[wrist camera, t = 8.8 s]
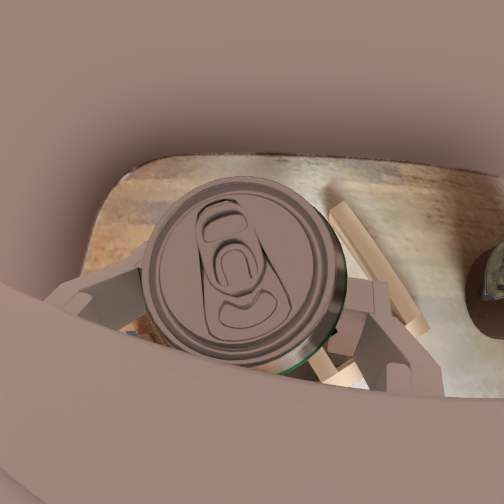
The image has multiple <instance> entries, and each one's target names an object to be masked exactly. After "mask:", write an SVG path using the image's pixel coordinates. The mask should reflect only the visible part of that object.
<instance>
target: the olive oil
mask: <svg viewBox="0 0 504 504" xmlns="http://www.w3.org/2000/svg"><path fill="white" fill-rule="evenodd" d="M466 302H467V307H468V311H469V314H470V317H471V319H472V321H473V323H474V324H475V326H476V327H477V328H478V329H479V330H480V331H481V332H482V333H483V334H485V335H486V336H488V337H490V338H494V339H503V340H504V241H502V242H501V243H499V244H498V245H496V246H495V247H493V248H491V249H490V250H488V251H486V252H485V253H483V254H482V255H481V256H480V257H479V258H478V259H477V260H476V261H475V263H474V264H473V266H472V268H471V270H470V272H469V275H468V279H467V284H466Z"/></svg>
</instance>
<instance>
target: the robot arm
mask: <svg viewBox="0 0 504 504" xmlns="http://www.w3.org/2000/svg"><path fill="white" fill-rule="evenodd" d="M147 243H148V241H144V242H143V243H142V244H141V245H140V246H139V247H138V248H137V249H136V250H135V251H134V252H133V253H132V254H131V255H130V256H129V257H128V258H127V259H126V260H125V261H124V262H123V263H122V264H120V263H117V264H114V265H111V266H108V267H106V268H103V269H100V270H97V271H95V272H92V273H89V274H86V275H84V276H81V277H78V278H76V279H73V280H70V281H68V282H65V283H62V284H60V285H59V286H58V287H57V288H56V289H55V290H54V291H53V292H52V293H51V294H50V295H49V296H48V297H47V298H46V299H45V300H44V301H43V302H42V301H40V300H37V299H35V298H33V297H30V296H28V295H26V294H24V293H22V292H20V291H17V290H15V289H13V288H11V287H9V286H7V285H5V284H3V283H0V504H504V398H456V397H445V396H444V388H443V381H442V374H441V368H440V366H439V365H438V364H437V363H436V361H435V360H434V359H433V358H432V357H431V356H430V354H429V353H428V352H427V351H426V350H425V349H424V348H423V346H422V345H421V344H420V343H419V342H418V341H417V340H416V339H415V337H414V336H413V335H412V334H411V333H410V332H409V331H408V330H407V329H406V327H405V326H404V325H403V324H402V323H401V322H400V321H399V320H398V319H397V317H392V311H391V303H390V294H389V286H388V283H387V282H380V281H373V280H372V281H370V280H364V279H357V278H351V277H347V294H346V299H345V304H344V308H343V311H342V313H341V316H340V319H339V321H338V324H337V325H336V327H335V329H334V331H333V332H332V334H331V336H330V337H329V339H328V347H327V352H330V353H335V354H341V355H346V356H351V357H353V359H354V361H355V363H356V364H357V366H358V368H359V370H360V372H361V374H362V375H363V377H364V379H365V381H366V383H367V385H368V387H369V388H370V390H366V389H358V388H351V387H344V386H337V385H331V384H325V383H319V382H313V381H308V380H302V379H297V378H292V377H287V376H282V375H277V374H272V373H268V372H263V371H259V370H254V369H250V368H246V367H241V366H237V365H233V364H229V363H225V362H221V361H217V360H213V359H209V358H205V357H202V356H198V355H194V354H191V353H187V352H184V351H180V350H177V349H173V348H170V347H167V346H163V345H160V344H157V343H153V342H150V341H147V340H144V339H141V338H138V337H135V336H132V335H129V334H126V333H123V332H120V331H117V330H119V329H121V328H123V327H124V326H126V325H128V324H129V323H131V322H133V321H135V320H136V319H138V318H140V317H141V316H143V315H145V314H146V313H147V312H148V310H147V307H146V304H145V300H144V297H143V290H142V282H141V276H142V263H143V257H144V252H145V249H146V246H147Z"/></svg>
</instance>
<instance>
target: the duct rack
mask: <svg viewBox="0 0 504 504" xmlns="http://www.w3.org/2000/svg"><path fill="white" fill-rule="evenodd" d="M328 221H329V223H330V224H331V225H332V227H333V228H334V230H335V231H336V232H337V234H338V235H339V237H340V238H341V239H342V241H343V242H344V244H345V245H346V247H347V248H348V249H349V251H350V252H351V254H352V255H353V257H354V258H355V260H356V261H357V263H358V264H359V266H360V267H361V268H362V270H363V271H364V273H365V274H366V276H367V277H368V279H369V280H370V281H372V280H373V281H380V282H387V283H388V286H389V294H390V303H391V311H392V316H393V317H397V319H398V320H399V321H400V322H401V323H402V324H403V325H404V326H405V327H406V329H407V330H408V331H409V332H410V333H411V334H412V335H413V336H414V337H415V339H416V340H417V339H418V338H419V337H420V336H422V335H423V334H424V333H425V332H427V331H428V330H429V329H430V327H429V325H428V324H427V322H426V320H425V319H424V317H423V315H422V314H421V312H420V310H419V309H418V307H417V306H416V304H415V302H414V301H413V299H412V298H411V296H410V294H409V293H408V291H407V290H406V288H405V287H404V285H403V283H402V282H401V280H400V279H399V277H398V276H397V274H396V273H395V271H394V270H393V268H392V267H391V265H390V264H389V262H388V261H387V259H386V258H385V256H384V255H383V254H382V252H381V251H380V249H379V248H378V246H377V245H376V243H375V242H374V241H373V239H372V238H371V236H370V235H369V234H368V232H367V231H366V229H365V228H364V227H363V225H362V224H361V222H360V221H359V220H358V218H357V217H356V216H355V214H354V213H353V212H352V210H351V209H350V208H349V206H348V205H347V204H346V202H345V201H343V202H341V203H340V204H338V205H337V206H335V207H333V208H332V209H330V212H329V219H328ZM137 336H138V338H141V339H144V340H147V341H150V342H153V343H154V341H153V339H152V337H151V335H150V334H137ZM308 362H309V363H310V365H311V367H312V368H313V370H314V371H315V373H316V375H317V376H318V378H319V379H317V380H316V381H314V382H319V383H325V384H331V385H337V386H344V387H350V386H351V385H353V384H355V383H356V382H358V381H359V380H361V379H362V378H364V377H363V375H362V374H361V372H360V370H359V368H358V366H357V364H356V363H355V361H354V359H353V357H352V358H350V359H349V360H347V361H346V362H344V363H343V364H341V365H340V366H338V367H336V368H335V366H334V365H333V363H332V361H331V360H330V358H329V357H328V355H327V354H326V352H325V350H324V349H323V347H321V348H320V350H319V351H318V352H317V353H316V354H314V355H313V356H312V357H311V358H310V359H309V360H308Z"/></svg>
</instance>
